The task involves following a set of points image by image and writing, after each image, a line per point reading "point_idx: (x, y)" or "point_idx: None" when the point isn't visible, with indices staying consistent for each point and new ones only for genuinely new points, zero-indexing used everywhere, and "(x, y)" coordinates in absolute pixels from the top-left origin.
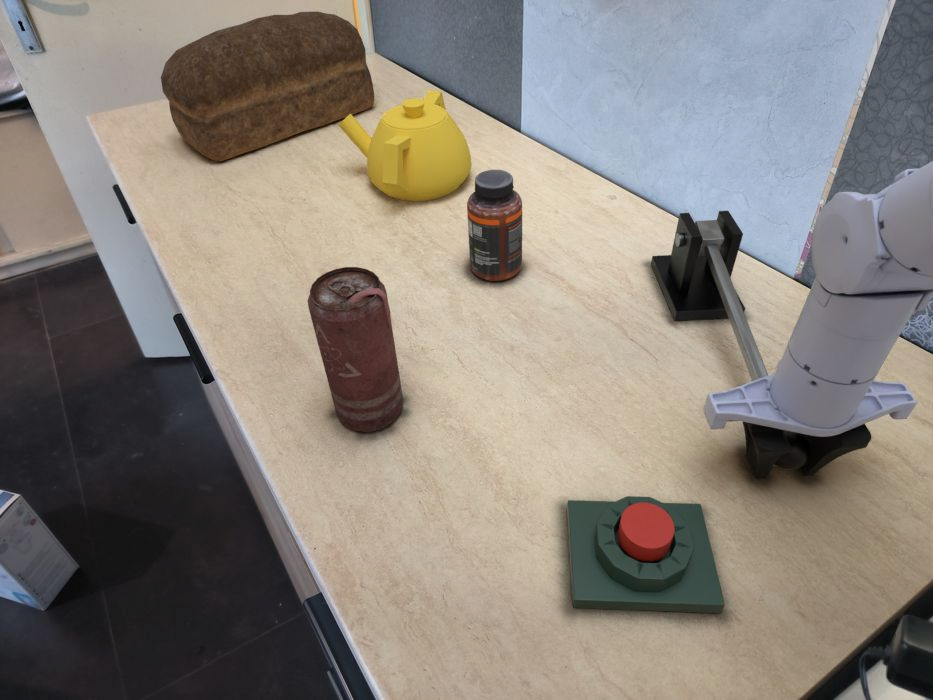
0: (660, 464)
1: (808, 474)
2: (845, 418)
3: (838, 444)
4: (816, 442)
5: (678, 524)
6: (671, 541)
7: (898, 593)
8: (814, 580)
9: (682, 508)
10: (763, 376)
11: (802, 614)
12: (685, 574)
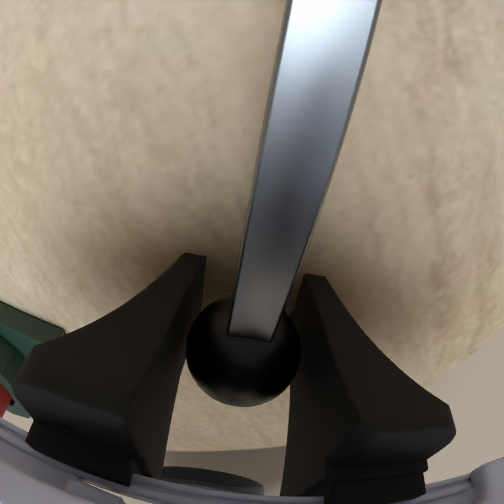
0: (11, 232)
1: None
2: None
3: (282, 494)
4: (301, 401)
5: (12, 391)
6: (4, 412)
7: (283, 443)
8: (196, 423)
9: (30, 343)
10: (313, 117)
11: None
12: None
